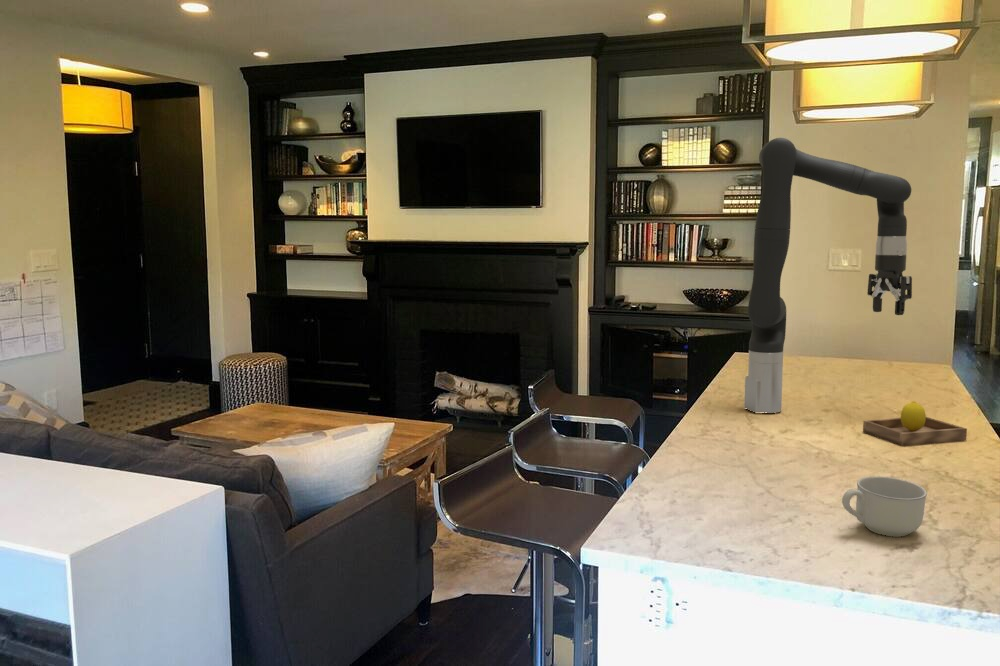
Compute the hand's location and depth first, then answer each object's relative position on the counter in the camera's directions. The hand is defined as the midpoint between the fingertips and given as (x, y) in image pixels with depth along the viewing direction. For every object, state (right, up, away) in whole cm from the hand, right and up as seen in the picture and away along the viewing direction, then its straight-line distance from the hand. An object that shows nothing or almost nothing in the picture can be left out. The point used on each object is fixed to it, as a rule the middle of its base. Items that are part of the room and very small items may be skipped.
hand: (888, 313), depth 222 cm
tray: (-3, -31, -20) cm, 37 cm away
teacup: (-40, -39, -82) cm, 99 cm away
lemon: (-3, -30, -20) cm, 36 cm away
